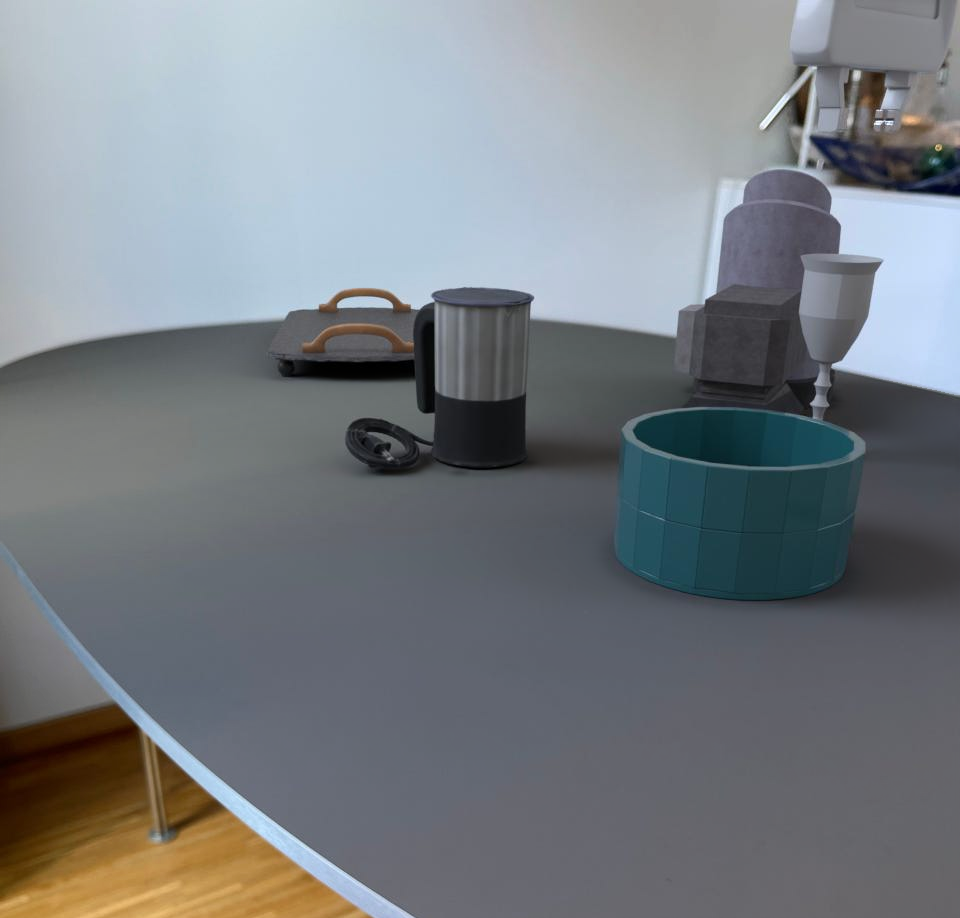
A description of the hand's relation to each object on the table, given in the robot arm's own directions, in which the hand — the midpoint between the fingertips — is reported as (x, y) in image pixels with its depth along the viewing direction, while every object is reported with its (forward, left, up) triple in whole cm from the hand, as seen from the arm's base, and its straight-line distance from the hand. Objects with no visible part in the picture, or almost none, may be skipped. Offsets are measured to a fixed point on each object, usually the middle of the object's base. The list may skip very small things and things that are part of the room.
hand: (859, 132), depth 90 cm
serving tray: (+47, -50, -28) cm, 75 cm away
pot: (+13, +26, -28) cm, 40 cm away
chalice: (-1, -1, -28) cm, 28 cm away
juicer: (0, -22, -28) cm, 36 cm away
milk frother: (+35, +2, -28) cm, 45 cm away
